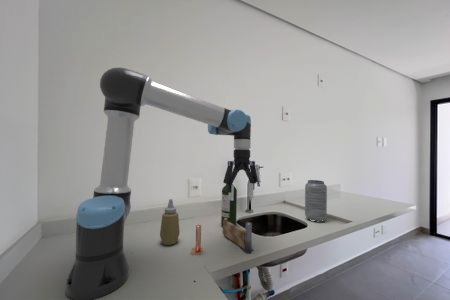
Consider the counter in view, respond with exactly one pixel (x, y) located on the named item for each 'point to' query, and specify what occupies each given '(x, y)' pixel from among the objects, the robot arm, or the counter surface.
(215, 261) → the counter surface
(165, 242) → the squeeze bottle
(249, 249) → the gate posts
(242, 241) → the gate
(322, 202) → the vase
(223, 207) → the wine bottle
